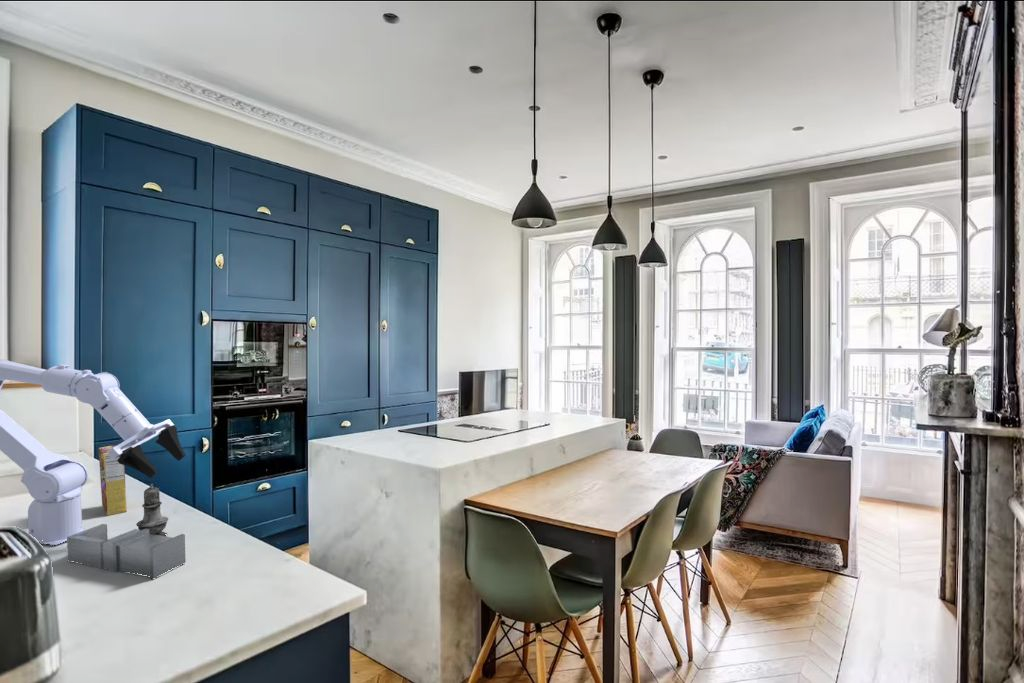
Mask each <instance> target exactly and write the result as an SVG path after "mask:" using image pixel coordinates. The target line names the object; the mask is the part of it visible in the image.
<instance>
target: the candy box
mask: <svg viewBox="0 0 1024 683" xmlns="http://www.w3.org/2000/svg"><path fill="white" fill-rule="evenodd" d="M117 445H118V444H117ZM117 445H108V446H103V447H98V461H99V475H100V476H99V478H100V479H99V480H100V491H101V493H100V494H101V506H102V508H103V509H104V512H105V513H106V516H113V515H118V514H123V513H126V512H127V511H128V509H127V492H126V472H125V471H126V470H125V465H123V464H120V463H119V462H118V461H117V460H118V459H119V458H120V457H118V458H116V459H113V458H112V457H111V455H110V454H109V453H108V452H109V451H110V450H111V449H112V448H113V447H115V446H117Z"/></svg>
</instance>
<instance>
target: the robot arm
mask: <svg viewBox="0 0 1024 683" xmlns="http://www.w3.org/2000/svg"><path fill="white" fill-rule="evenodd" d="M69 367H70V365H69V364H59V365H54V366H52V367H50V368H48V369H45V368H40V367H36V366H32V365H28V364H23V363H18V362H16V361H11V360H8V359H5V358H4V359H2V358H1V359H0V391H2V388H3V386H4V383H5V381H12V382H13V381H14V382H19V383H27V384H34V385H40V386H41V387H42V389H43V390H44V392H47V393H51V394H57V395H62V396H67V397H73V398H76V399H77V400H78V401H80V402H81V403H84V404H89V405H90V406H91V407H92V408H93V410H94V409H95V410H96V411H97V412H98V413H99V414H100V415H101V417H102V418H103V419H104V420H105V421H106V422H107V423H108V424H109V425H110V426H111V427H112V429H113V430H114V431H115V432H116V433H117V435H119V436H120V438H121V439H122V440H123V441H122V442H121V443H118V444H117V446H115V445H114V446H115V447H113V448H112V449H111V450H110V451H109V452H108V453H109V454H110V455H111V457H112V458H113V459H116V458H118V457H120V458H119V459H118V460H117V461H118V462H119V463H120V464H123V465H124V466H127V467H129V468H131V469H134V470H136V471H138V472H140V473H142V474H143V475H145V476H146V477H147V478H150V479H152V478H154V477H155V476H156V475H157V474H158V470H157V469H156V467H155V466H154V465H153V464H152V462H150V460H149V458H148V457H147V456H146V454H145V452H144V450H143V448H142V446H141V445H142V444H144V443H146V442H148V441H150V440H152V439H154V438H156V437H158V439H156V440H155V443H156V444H158V445H159V446H161V447H162V448H164V449H165V450H166V451H167V452H169V454H170V455H171V456H172V457H173V458H174V459H175V460H176V461H181V460H182V459H184V457H185V456H186V453H185V452H184V449H183V448H182V444H181V443H180V439H179V437H178V435H179V434H178V428H177V426H176V425H175V424H174V423H173V421H172V420H171V419H170V418H168V419H166V420H163V421H162V422H158V423H156V424H153V423H150V422H149V420H148V419H147V418H146V417H145V416H144V415H143V413H141V411H140V410H139V409H138V408H137V407H136V406H135V405H134V404H133V402H132V401H131V400H130V399H129V398H128V397H127V395H125V394H124V392H123V391H122V390H121V389H120V386H121V385H120V381H119V379H118V378H117V377H116V376H115V375H114V374H112V373H110V372H107V371H103V372H98V373H97V374H96V373H95V374H94V373H93V372H92V370H91V369H83V370H81V369H79V370H78V369H74V368H69ZM0 452H2V453H3V454H4V455H5V456H7V457H8V458H9V459H10V460H11V461H12V462H13V463H15V464H16V465H17V466H18V467H19V468H21V470H23V473H22V475H21V479H20V482H21V483H22V484H23V485H24V486H26V489H27V490H28V493H29V495H30V496H31V498H33V499H34V500H32V502H31V503H30V504H29V505H28V509H27V521H28V522H27V524H28V525H27V526H28V535H29V534H31V535H32V536H33V537H35V538H36V539H37V540H38V541H39V542H40V543H39V544H43V543H47V544H50V545H49V546H52V545H53V546H54V545H56V546H58V545H57V544H59V545H60V543H61V544H64V543H66V542H65V541H67V537H68V536H71V535H73V534H76V533H79V532H82V531H84V530H87V529H88V528H83V516H82V515H83V514H82V512H83V510H82V492H83V486H85V484H86V483H87V481H88V479H89V471H88V468H87V467H86V466H85V465H84V464H83V463H81V462H80V461H75V460H73V459H71V458H69V457H68V456H67V455H65V454H62V453H61V454H59V453H56V452H51V451H50V450H49V449H47V448H46V446H44V445H43V444H42V443H41V442H40V441H38V440H37V439H36V438H35V437H34V436H33V435H32V434H31V433H29V432H28V431H26V430H25V428H23V427H22V426H21V425H20V424H19V423H17V422H16V421H15V420H14V419H13V418H11V416H9V415H8V414H7V413H6V412H5V411H4V410H2V409H1V408H0ZM42 540H43V541H42ZM63 542H64V543H63ZM43 545H44V544H43ZM53 546H52V547H53Z"/></svg>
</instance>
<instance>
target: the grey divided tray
mask: <svg viewBox="0 0 1024 683" xmlns="http://www.w3.org/2000/svg"><path fill="white" fill-rule="evenodd" d="M86 529H87V530H84V531H82V532H79V533H76V534H73V535H71V536H68V537H67V542H66V548H67V561H68V560H69V561H74V562H78V563H82V564H85V565H84V566H88V565H90V566H89V567H93V566H94V568H98V567H100V569H103V568H106V569H105V570H108V569H111V570H110V571H113V572H114V571H115V572H114V573H118V572H117V571H123V572H122V573H124V572H130V573H135V574H137V573H138V574H142V575H147V576H150V577H149V579H150V578H156V577H157V576H159V575H161V574H163V573H165V572H167V571H168V570H171V569H172V568H175V567H177V566H179V565H181V564H183V563H185V562H187V561H186V535H185V534H183V533H181V534H178V535H175V536H174V537H171V536H160V535H153V534H149V529H147V528H146V529H143V530H141V531H140V530H139V529H138V528H137V529H136V528H134V529H132V530H128V531H125V532H123V533H121V534H119V535H117V536H114V537H111V538H109V539H108V524H105V523H102V524H99V525H96V526H94V527H93V526H92V527H91V528H86ZM82 564H81V565H82ZM135 574H134V575H135ZM156 579H157V578H156Z"/></svg>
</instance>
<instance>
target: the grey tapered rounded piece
mask: <svg viewBox="0 0 1024 683" xmlns="http://www.w3.org/2000/svg"><path fill="white" fill-rule="evenodd" d="M160 497H161V496H160V489H159V488H158V487H156V486H155V487H154V484H153V483H152V482H151V483H150V484H149V487H148V488H146V489H145V490H144V491H143V504H142V505H141V507H142V508H143V518H142V519H141V520H139V521H138V522H136V524H135V525H136V527H137V529H138V530H140V531H141V530H143V529H146V528H147V529H149V534H153V535H160V536H166V535H165V534H167V535H168V533H167V532H165V531H164V530H165V528H166V526H167V524H168V521H169V517H167V516H163V515H162V512H161V505H162V504H163V502H162V501H161V500H160V499H161V498H160ZM166 537H167V536H166Z"/></svg>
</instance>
